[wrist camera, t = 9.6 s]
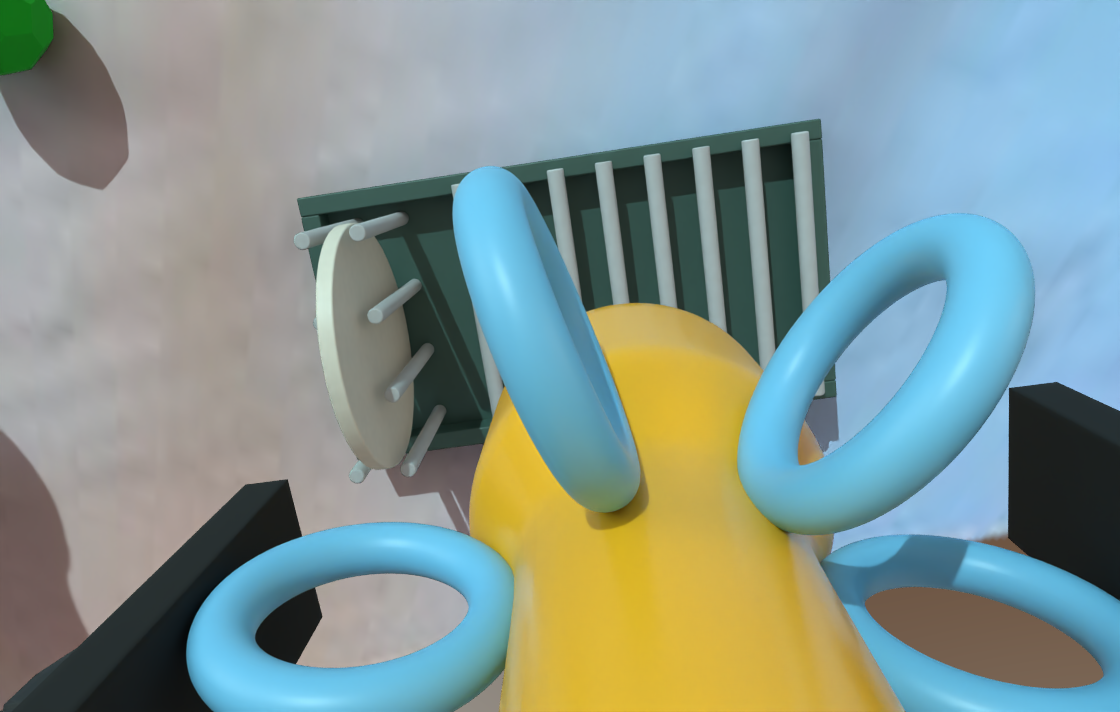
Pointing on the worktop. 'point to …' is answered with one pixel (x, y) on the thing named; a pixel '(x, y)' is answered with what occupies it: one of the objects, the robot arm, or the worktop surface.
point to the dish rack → (590, 256)
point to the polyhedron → (23, 34)
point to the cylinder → (683, 506)
